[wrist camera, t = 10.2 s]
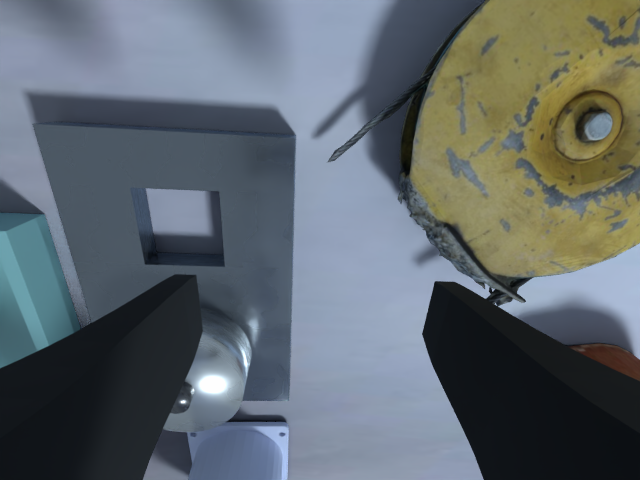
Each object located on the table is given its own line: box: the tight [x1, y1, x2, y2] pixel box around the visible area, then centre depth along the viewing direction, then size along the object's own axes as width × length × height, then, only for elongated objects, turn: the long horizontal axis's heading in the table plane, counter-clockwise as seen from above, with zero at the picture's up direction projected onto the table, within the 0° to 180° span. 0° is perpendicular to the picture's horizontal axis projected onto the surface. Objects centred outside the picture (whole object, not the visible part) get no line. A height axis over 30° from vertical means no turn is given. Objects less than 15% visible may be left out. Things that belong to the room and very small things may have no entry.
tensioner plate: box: [33, 122, 296, 432], centre depth 17 cm, size 18×12×5 cm, turn 177°
